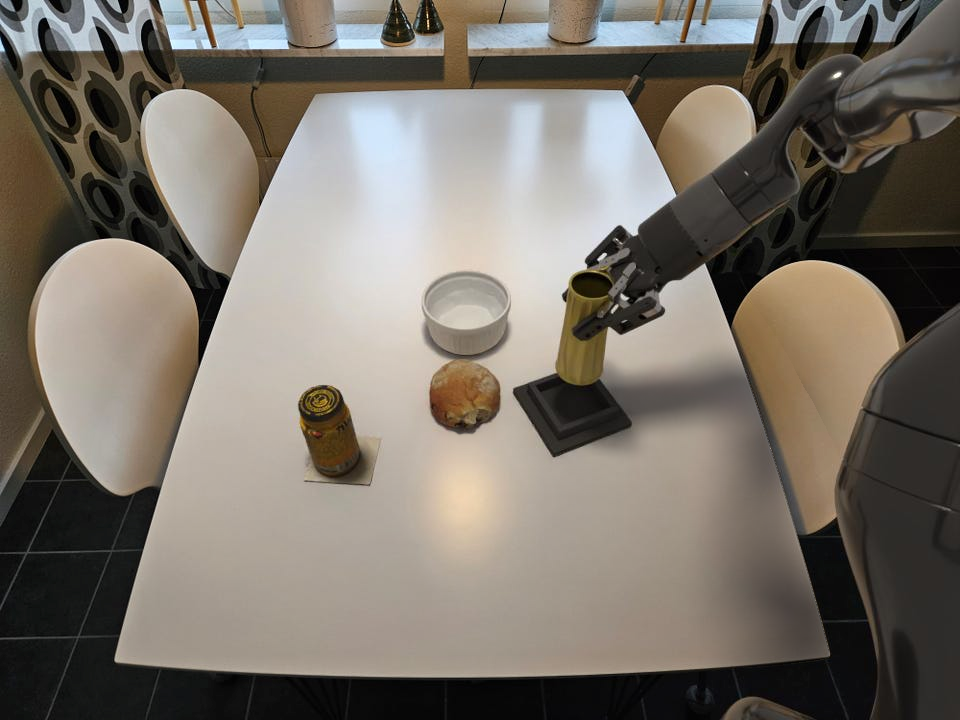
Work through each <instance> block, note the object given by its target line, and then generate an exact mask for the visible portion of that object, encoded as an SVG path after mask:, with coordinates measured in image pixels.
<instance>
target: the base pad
mask: <svg viewBox="0 0 960 720" xmlns="http://www.w3.org/2000/svg"><path fill="white" fill-rule="evenodd" d="M512 394H513V395H514V397H515V398H516V400H517V401H518V403H519V404H520V406H521V409H522V410H523V411H524V413H525V414H526V416H527V418H528V419H529V421H530V422H531V424H532V425H533V427H534V429H535V430H536V432H537V434H538V435H539V436H540V438H541V440H542V441H543V443H544V445H545V446H546V448H547V449H548V451H549V453H550V454H551V456H552V457H553V458H555V457H557V456H560V455H562V454H565V453H567V452H570V451H573V450H576V449H578V448H581V447H583V446H585V445H588V444H591V443H593V442H595V441H596V442H597V441H598V440H601V439H603V438H605V437H606V438H607V437H608V436H611V435H613V434H616V433H618V432H619V433H620V432H622V431H625V430H626V429H629V428H631V427H632V426H633V421H632V420H631V418H630V417H629V416H628V415H627V414H626V412H625V411H624V409H623V408H622V406H621V405H620V404H619V403H618V401H617V400H616V399H615V398H614V396H613V394H612V393H611V392H610V391H609V389H608V388H607V387H606V385H605V384H604V383H603V381H602V380H601V379H600V378H599V379H598V380H597V381H596V382H594V383H592V384H588V385H574V384H570V383H568V382H566V381H564V380H563V379H562V378H561V377H560V376H559V375H558V374H557V372H555V373H552V374H549V375H546V376H543V377H541V378H538V379H535V380H532V381H530V382H529V381H528V382H527V383H525V384H522V385H518V386H515V387H513V388H512Z"/></svg>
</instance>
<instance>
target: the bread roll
mask: <svg viewBox="0 0 960 720" xmlns="http://www.w3.org/2000/svg"><path fill="white" fill-rule="evenodd" d="M428 392H429V393H428V396H429V404H430V410H431V413H432V414H433V415H434V417H435V418H436V419H437V420H438V422H440V423H441V424H444V425H445V426H447V427H452V428H457V429H458V430H460V431H461V430H462V431H464V430H465V429H467V430H468V429H472V428H474V427H477V426H479V425H480V424H482V423H484V422H486V421H488V420H489V419H490V418H491V417H492V416H493V415H494V414H495V413H496V412H497V411H498V409H499V407H500V404H501V398H502V397H501V385H500V382H499V380H498V378H497V377H496V375H494V374H493V373H492V372H491V370H490V369H489V368H487V367H485V366H484V365H481V364H480V363H477V362H474V361H472V360H468V359H454V360H452V361H449V362H448V363H446V364H444V365H442V366H441V367H440V368H439V369H438V370H437V371H436V372H435V373H433V376H432V377H431V380H430V386H429V391H428Z"/></svg>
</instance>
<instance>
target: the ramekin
mask: <svg viewBox="0 0 960 720" xmlns="http://www.w3.org/2000/svg"><path fill="white" fill-rule="evenodd" d="M511 296H512V295H511V292H510V290H509V288H508V286H507V285H506V283H504V281H502V280H501V279H500V278H498V277H497V276H495V275H494V274H491V273H489V272H486V271H482V270H477V269H455V270H451V271H448V272H444V273H442V274H440V275H438V276H436V277H434V278H433V279H432V280H431V281H430V282H429V283H428V284H427V285H426V286H425V288H424V289H423V292H422V294H421V310H422V313H423V316H424V318H425V321H426V326H427V329H428V331H429V334H430V337H431V339H432V340H433V342H435V344H437V345H438V347H440V348H441V349H443V350H445V351H446V352H449V353H451V354H455V355H461V356H472V355H478V354H481V353H484V352H487V351H488V350H490V349H492V348H493V347H494V346H496V345H498V343H499V342H500V341H501V339H502V338H503V335H504V333H505V330H506V327H507V323H508V317H509V314H510V311H511V307H512V297H511Z"/></svg>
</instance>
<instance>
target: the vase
mask: <svg viewBox="0 0 960 720" xmlns="http://www.w3.org/2000/svg"><path fill="white" fill-rule="evenodd" d="M613 286H614V280H613V279H612V278H611V277H610V276H609V275H607V274H605V273H603V272H600V271H597V270H586V269H583V270H579V271H577V272H575V273H574V274H572V275H571V276H570V278H569V281H568V286H567V288H568V293H567V301H566V302H565V312H564V318H563V324H562V329H561V334H560V339H559V345H558V350H557V356H556V360H555V363H554V368H555V373H557V374H558V375H559V376H560V377H561V378H562V379H563V380H564V381H566V382H568V383H570V384H574V385H588V384H592V383H594V382H596V381H597V380H598V379H600V378H601V377H602V375H603V373H604V362H605V357H606V355H605V354H606V346H607V338H608V337H607V336H608V332H609V331H608V330H609V327H607V328H605V329H604V330H603V331H601V332H600V333H598V334H597V335H596V336H594V337H593V338H591V339H590V340H587V341H580V340H579V339H577V338H576V337H575V336H573V334H572V330H571V329H572V328H573V327H574V326H575V325H577V324H578V323H580V322H581V321H582V320H584V319H585V318H586V317H588V316H589V315H590V314H592V313H593V312H597V311H598V310H599V309H600V307H601V306H602V305H603V304H604V303H605V301H606V300H607V299H608V292H609V291H610V290H611V288H612V287H613Z"/></svg>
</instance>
